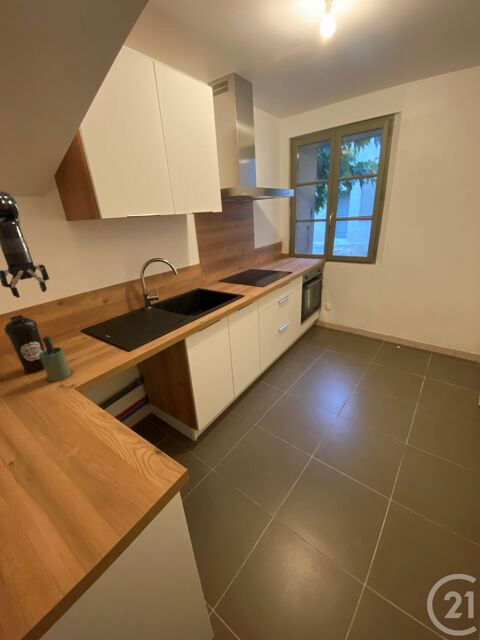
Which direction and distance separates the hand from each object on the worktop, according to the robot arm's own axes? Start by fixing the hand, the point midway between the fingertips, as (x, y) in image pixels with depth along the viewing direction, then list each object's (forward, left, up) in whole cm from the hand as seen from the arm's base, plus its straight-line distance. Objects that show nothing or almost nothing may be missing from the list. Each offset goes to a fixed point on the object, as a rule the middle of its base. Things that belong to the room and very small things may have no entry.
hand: (31, 294), depth 101 cm
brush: (+4, -10, -31) cm, 33 cm away
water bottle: (-8, +1, -32) cm, 33 cm away
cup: (+4, -10, -32) cm, 34 cm away
